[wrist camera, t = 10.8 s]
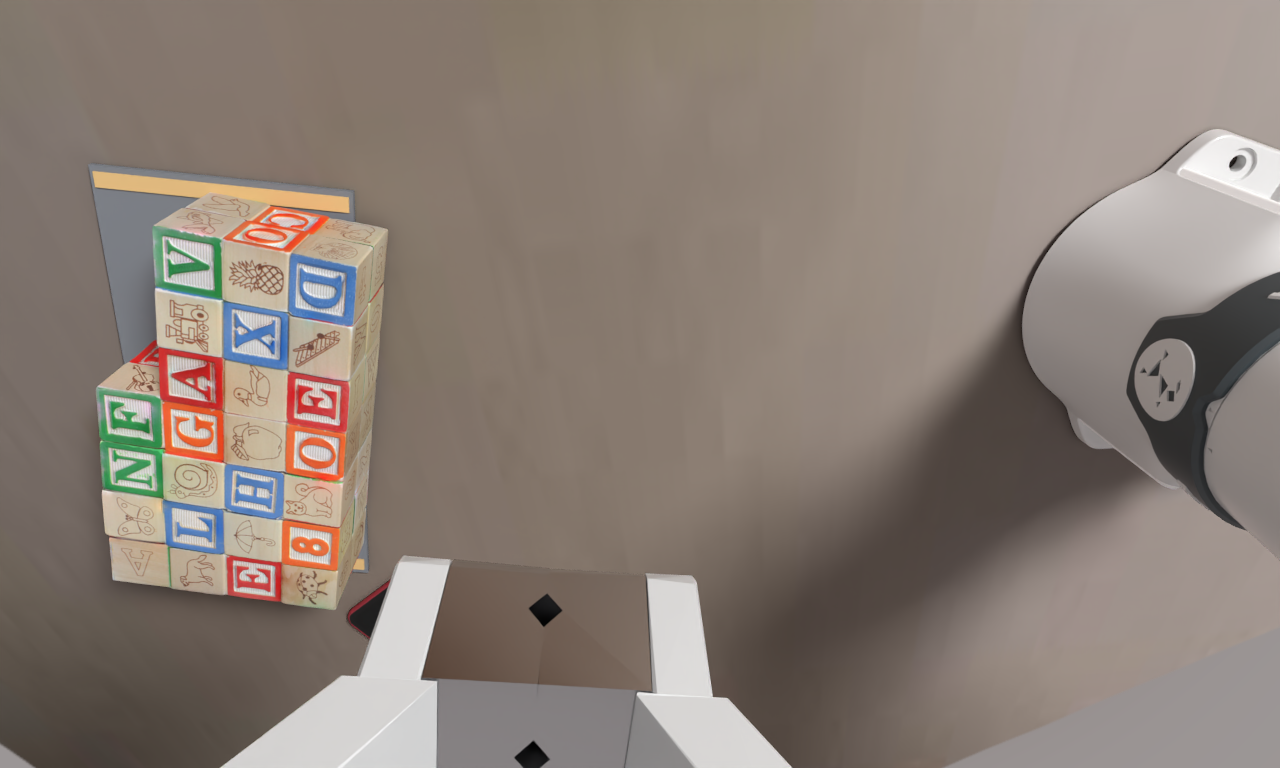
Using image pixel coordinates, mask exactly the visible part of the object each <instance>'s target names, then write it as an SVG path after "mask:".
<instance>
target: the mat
mask: <svg viewBox="0 0 1280 768" xmlns="http://www.w3.org/2000/svg"><path fill="white" fill-rule="evenodd" d="M88 167H89V172H90V178H91V183H92V189H93V194H94V200H95V205H96V211H97V216H98V222H99V227H100V233H101V238H102V244H103V249H104V255H105V260H106V266H107V272H108V277H109V283H110V288H111V294H112V299H113V305H114V310H115V316H116V321H117V327H118V332H119V338H120V343H121V349H122V354H123V360H124V364H126V363H128V362H130V361H131V360H132V359H133V358H135V357H136V356H137V355H138V354H139V353H141V352H142V351H143V350H144V349H145V348H146V347H147V346H148V345H149V344H151V343H152V342H153V341H154V340H157V332H156V310H155V288H156V285H155V276H154V258H153V235H152V228H153V226H154V225H155V224H157V223H158V222H160V221H161V220H163V219H165V218H166V217H168V216H170V215H171V214H173V213H174V212H176V211H178V210H179V209H181V208H186V207H187V206H188V205H190V204H191V203H193V202H195V201H196V200H198V199H200V198H201V197H203V196H205V195H206V194H208V193H210V192H211V193H218V194H223V195H228V196H233V197H238V198H243V199H247V200H252V201H257V202H263V203H267V204H269V205H270V206H274V207H281V208H287V209H293V210H298V211H303V212H308V213H314V214H319V215H325V216H328V217H329V218H331V219H340V220H345V221H350V222H355V197H354V190H344V189H335V188H325V187H315V186H306V185H296V184H286V183H277V182H267V181H258V180H248V179H238V178H229V177H219V176H209V175H200V174H190V173H181V172H171V171H161V170H152V169H142V168H132V167H123V166H113V165H103V164H94V163H91V164H88ZM368 571H369V556H368V530H367V505H366V519H365V533H364V543H363V546H362V549H361V551H360V553H359V556H358V558H357V560H356V563H355V565H354V567H353V570H352V572H363V573H368Z"/></svg>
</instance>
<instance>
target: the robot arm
mask: <svg viewBox="0 0 1280 768" xmlns="http://www.w3.org/2000/svg"><path fill="white" fill-rule="evenodd" d="M1235 156H1237V161H1236V163H1235V164H1234V165H1233V166H1232V167H1230V168H1229V163H1230V161H1231V160H1232V159H1233V158H1234V157H1235ZM1022 334H1023V343H1024V348H1025V352H1026V355H1027V358H1028V361H1029V363H1030V365H1031V367H1032V369H1033V371H1034V372H1035V374H1036V375H1037V377H1038V378H1039V379H1040V381H1041V382H1042V383H1043V384H1044V385H1045V386H1046V387H1047V388H1048V389H1049V390H1050V391H1051V392H1052V393H1053V394H1054V395H1056V396H1057V397H1058V398H1059V399H1060V400H1061V401H1062V402H1063V404H1064V405H1065V406H1066V408H1067V411H1068V415H1069V418H1070V421H1071V425H1072V427H1073V430H1074V432H1075V434H1076V435H1077V437H1078V438H1079V439H1080V440H1081V441H1083V442H1084V443H1085V444H1087V445H1088V446H1089V447H1091V448H1094V449H1109V448H1115V449H1116V450H1117V451H1118V452H1120V453H1121V454H1122V455H1123V456H1125V457H1126V458H1127V459H1128V460H1130V461H1131V462H1132V463H1133V464H1135V465H1136V466H1137V467H1139V468H1140V469H1141V470H1142V471H1144V472H1145V473H1146V474H1147V475H1149V476H1150V477H1151V478H1153V479H1154V480H1155V481H1157V482H1158V483H1159V484H1161V485H1162V486H1164V487H1167V488H1170V489H1173V490H1176V489H1178V488H1180V487H1182V488H1183V489H1184V491H1185V492H1186V493H1188V494H1189V495H1190V496H1191V497H1192V498H1193V499H1194V500H1195V501H1197V502H1198V503H1199V504H1201V505H1203V506H1204V507H1205V508H1206V509H1208V510H1211V511H1212V512H1213V513H1214V514H1216V515H1217V516H1218V517H1220V518H1221V519H1222V520H1224V521H1226V522H1227V523H1229V524H1231V525H1233V526H1235V527H1238V528H1241V529H1243V530H1246V531H1248V532H1249V533H1250V534H1251V535H1252V536H1254V537H1255V538H1256V539H1257V540H1258V541H1259V542H1260V543H1261V544H1262V545H1263V546H1264V547H1266V548H1267V549H1268V550H1269V551H1270V552H1271V553H1272V554H1273V555H1274V556H1275V557H1277V558H1278V559H1279V560H1280V150H1278V149H1275V148H1273V147H1270V146H1267V145H1264V144H1262V143H1259V142H1256V141H1253V140H1251V139H1248V138H1245V137H1242V136H1240V135H1237V134H1234V133H1231V132H1229V131H1226V130H1221V129H1214V130H1210V131H1207V132H1205V133H1203V134H1201V135H1199V136H1198V137H1196V138H1195V139H1194V140H1192V141H1191V142H1190V143H1189V144H1187V145H1186V146H1185V147H1184V148H1183V149H1182V150H1180V151H1179V152H1178V153H1177V154H1176V155H1175V156H1174V157H1173V158H1172V159H1171V160H1170V161H1169V162H1168V163H1166V164H1165V165H1164V166H1163V167H1162V168H1161V169H1160V170H1158V171H1157V172H1155V173H1153V174H1152V175H1150V176H1148V177H1146V178H1144V179H1142V180H1140V181H1137V182H1135V183H1133V184H1131V185H1129V186H1127V187H1124V188H1122V189H1120V190H1118V191H1116V192H1115V193H1113V194H1111V195H1109V196H1108V197H1106V198H1104V199H1103V200H1101V201H1100V202H1098V203H1097V204H1095V205H1094V206H1092V207H1091V208H1090V209H1088V210H1087V211H1086V212H1084V213H1083V214H1082V215H1081V216H1080V217H1079V218H1077V219H1076V220H1075V221H1074V222H1073V223H1072V224H1071V225H1070V226H1069V227H1068V228H1067V229H1066V230H1065V231H1064V232H1063V233H1062V234H1061V236H1060V237H1059V238H1058V239H1057V240H1056V242H1055V243H1054V244H1053V245H1052V247H1051V248H1050V250H1049V251H1048V252H1047V254H1046V255H1045V257H1044V259H1043V260H1042V262H1041V264H1040V265H1039V267H1038V269H1037V271H1036V273H1035V275H1034V277H1033V280H1032V282H1031V285H1030V287H1029V290H1028V293H1027V297H1026V301H1025V305H1024V311H1023V320H1022ZM220 768H792V767H791V766H790V765H789V764H788V763H787V761H786V760H785V759H784V758H783V757H782V756H781V755H780V754H779V753H778V752H777V751H776V750H775V749H774V747H773V746H772V745H771V744H770V743H769V742H768V741H767V740H766V739H765V738H764V737H763V736H762V734H761V733H760V732H759V731H758V730H757V729H756V728H755V727H754V726H753V725H752V724H751V723H750V722H749V720H748V719H747V718H746V717H745V716H744V715H743V714H742V713H741V712H740V711H739V710H738V709H737V708H736V706H735V705H734V704H733V703H732V702H731V701H730V700H729V699H728V698H718V697H713V694H712V687H711V680H710V673H709V666H708V659H707V652H706V645H705V638H704V631H703V624H702V617H701V610H700V603H699V596H698V589H697V582H696V581H695V579H694V578H693V576H691V575H670V574H649V573H645V575H643V574H629V573H613V572H597V571H582V570H566V569H550V568H542V567H532V566H521V565H510V564H499V563H488V562H478V561H467V560H456V559H454V560H453V561H451V560H449V559H437V558H426V557H414V556H403V557H402V558H401V559H400V560H399V562H398V563H397V564H396V566H395V569H394V572H393V575H392V577H391V580H390V583H389V586H388V589H387V592H386V595H385V598H384V600H383V603H382V606H381V609H380V612H379V615H378V618H377V621H376V623H375V626H374V629H373V632H372V635H371V638H370V641H369V644H368V646H367V649H366V652H365V655H364V658H363V661H362V664H361V666H360V669H359V672H358V675H357V676H340V677H339V678H337V679H336V680H335V681H333V682H332V683H331V684H329V685H328V686H327V687H325V688H324V689H323V690H321V691H320V692H319V693H318V694H316V695H315V696H314V697H312V698H311V699H310V700H308V701H307V702H306V703H304V704H303V705H302V706H300V707H299V708H298V709H296V710H295V711H294V712H293V713H291V714H290V715H289V716H287V717H286V718H285V719H283V720H282V721H281V722H279V723H278V724H277V725H275V726H274V727H273V728H272V729H270V730H269V731H268V732H266V733H265V734H264V735H262V736H261V737H260V738H258V739H257V740H256V741H254V742H253V743H252V744H250V745H249V746H248V747H247V748H245V749H244V750H243V751H241V752H240V753H239V754H237V755H236V756H235V757H233V758H232V759H231V760H229V761H228V762H227V763H226V764H224V765H223V766H222V767H220Z"/></svg>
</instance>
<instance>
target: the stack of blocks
mask: <svg viewBox="0 0 1280 768" xmlns="http://www.w3.org/2000/svg"><path fill="white" fill-rule="evenodd" d="M152 235H153V258H154V276H155V285H156V288H155V310H156V332H157V340H154V341H153V342H152V343H151V344H149V345H148V346H147V347H146V348H145V349H144V350H143V351H142V352H141V353H139V354H138V355H137V356H136V357H135V358H133V359H132V360H131V361H130V362H128V363H126V364H124V365H123V366H122V367H121V368H120V369H118V370H117V371H116V372H115V373H113V374H112V375H111V376H110V377H109V378H107V379H106V380H105V381H104V382H102V383H101V384H100V385H99V386H98V387H97V388H96V397H97V409H98V423H99V436H100V438H101V439H102V440H101V442H100V456H101V470H102V485H103V487H104V488H103V490H102V502H103V514H104V525H105V533H106V534H107V535H109V536H110V538H109V543H110V554H111V564H112V576H113V580H117V581H124V582H132V583H139V584H147V585H156V586H165V587H170V588H172V589H178V590H188V591H194V592H202V593H206V594H215V595H225V594H227V595H231V596H238V597H244V598H252V599H260V600H268V601H281V602H282V603H284V604H291V605H298V606H305V607H314V608H323V609H330V610H334V609H336V607H337V605H338V602H339V600H340V598H341V595H342V593H343V591H344V588H345V586H346V583H347V581H348V578H349V575H350V574H351V572H352V570H353V567H354V565H355V563H356V560H357V558H358V556H359V553H360V551H361V549H362V546H363V543H364V533H365V519H366V504H367V493H368V478H369V462H370V451H371V438H372V423H373V413H374V401H375V389H376V377H377V367H378V355H379V340H380V334H379V332H380V327H381V318H382V303H383V293H384V284H383V280H384V271H385V260H386V249H387V238H388V230H387V229H385V228H381V227H377V226H372V225H367V224H361V223H357V222H350V221H345V220H340V219H331V218H329V217H328V216H325V215H319V214H314V213H308V212H303V211H298V210H293V209H287V208H281V207H274V206H270V205H269V204H267V203H263V202H257V201H252V200H247V199H243V198H238V197H233V196H228V195H223V194H218V193H211V192H210V193H208V194H206V195H205V196H203V197H201V198H200V199H198V200H196V201H195V202H193V203H191V204H190V205H188V206H187V207H186V208H181V209H179V210H178V211H176V212H174V213H173V214H171V215H170V216H168V217H166V218H165V219H163V220H161V221H160V222H158V223H157V224H155V225H154V226H153V228H152Z"/></svg>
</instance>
